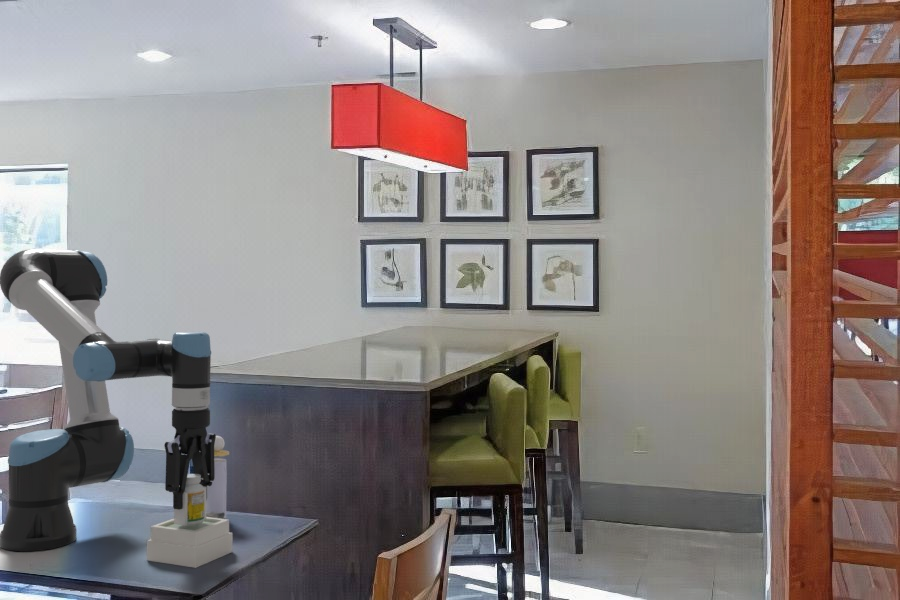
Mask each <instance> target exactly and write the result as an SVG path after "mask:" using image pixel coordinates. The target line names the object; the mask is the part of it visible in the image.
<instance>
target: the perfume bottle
mask: <svg viewBox="0 0 900 600" xmlns="http://www.w3.org/2000/svg"><path fill="white" fill-rule="evenodd" d="M225 445H226V444H225V440H224V438H223V437H222V436H220V435H216V439H215V444H214V470H215V478H214V481H210V482H212V485H211V486H207V500H206V513H210V512H215V513H225V515H224V519H226V518H227V467H228V466H227V463H228V462H227V459H226V458H218V457H226V456H229V455H230V451H229V450H226V449H224V447H225ZM215 457H217V458H215ZM208 475H209V474H208Z"/></svg>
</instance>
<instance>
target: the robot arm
mask: <svg viewBox="0 0 900 600" xmlns="http://www.w3.org/2000/svg"><path fill="white" fill-rule="evenodd" d="M107 286H108V275H107V271H106V268H105V265H104V264H103V262H102V261H101V259H100V258H99V257H98V256H96V255H95V254H94V253H92V252H89V251H83V250H82V251H80V250H77V249H72V250H71V249H70V250H67V249H65V250H61V249H39V248H29V249H24V250H20V251H19V252H18V251H17V252H16V253H15V254H13V255H11V257H9V258H8V259H7V260H6V261H5V262H4V264H3V265H2V267H1V270H0V290H1V292H2V293H3V296H4V298H6V299H7V300H8V302H9V303H10V304H11V305H12V306H13V307H15V308H16V309H19V310H22V311H26V312H27V313H28V314H29V316H31V317H32V318H33V319H34V320H36V322H38V324H39V325H41V327H43V328H44V329H45V330H46V331H47V332H48V333H49V334H50V335H51V336H52V337H53V338H54V339H55V340H57V341H58V346H59V347H58V348H59V353H60V354H59V355H60V360H61V367H62V372H63V380H64V381H63V382H64V386H65V392H66V393H65V394H66V400H67V406H68V413H69V421H68V422H67V424H66V425H65V426H64V428H49V429H45V430H43V429H42V430H35V431H31V432H27V433H24V434H21V435H18V436H17V437H15V438H14V439H13V440H12V441H11V442H10V444H9V449H8V459H7V463H8V510H7V514H6V516H5V520H4V524H3V528H2V530H1V531H0V548H1V549H3V550H7V551H14V552H34V551H36V552H37V551H45V550H51V549H52V550H53V549H57V548H61V547H64V546H67V545H70V544H72V543H73V542H76V540H77V534H78V533H77V532H78V531H77V526H76V524H74V523H75V522H74V519H73V516H72V512H71V509H70V506H69V489H70V488H76V487H81V486H87V485H93V484H98V483H107V482H109V481H111V480H116V479H119V478H122V477H123V476H125V474H126V473H127V472H128V471H129V470H130V467H131V465H132V463H133V460H134V455H135V444H134V439H133V436H132V434H131V433H130V431H129V430H128V429H127V428H124V427H122V426H120V422H119V421H120V420H119V417H117V416H116V415H115V414H112V412H111V411H110V410H111V408H110V403H109V399H108V398H109V397H108V390H107V384H106V381H112V380H122V379H134V378H135V379H136V378H147V377H148V378H149V377H169V378H170V377H171V379H172V380H171V381H172V383H171V386H172V387H171V407H173V409H172V410H171V426H172V427H173V428H174V429H175V434H174V436H173V440H172V441H165V443H164V446H163V447H164V450H165V454H166V455H165V487H164V489H165V491H166V492H169V493H172V495H173V496H172V501H173V503H172V507H173V511H174V513H173V515H174V516H173V519H174V524H177V525H184V526H185V525H187V514H188V493H187V492H184V491H185V486H186V481H187V475H188V474H189V470H190V469H189V468H190V465H191V464H190V463H191V462H192V468H193V472H194V473H193V474H199V475H201V482H200V483H199V484H201V485H202V486H203V487H204V519H205V518H206V500H207V486H211V485H212V482H210V481H214V478H215V470H214V459H215V457H214V444H215V439H216V436H217V435H216V433H208V431H207V427H209V426H210V425H211V409H210V408H208V406H210V405H211V361H212V359H211V358H212V356H211V355H212V351H211V338H210V337H211V336H210V335H209V333H207V332H205V331H204V332H203V331H179V332H178V331H177V332H175V333H173V334H172V340H168V339H160V338H148V339H147V338H145V339H142V340H132V341H131V340H127V341H115V340H114V339H113V338H112V337H110V336H109V335H108V334H107V333H106V332H104V331H103V330H102V328H101V327H99V326H98V325H97V320H96V314H95V313H96V310H97V309H98V308H99V307H100V305H101V300H100V299H103V297H104V296H105V294H106V292H107V288H106V287H107ZM208 474H209V475H208ZM179 486H180V487H179Z"/></svg>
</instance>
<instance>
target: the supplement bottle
mask: <svg viewBox="0 0 900 600" xmlns="http://www.w3.org/2000/svg"><path fill="white" fill-rule="evenodd" d="M200 482H201V475H199V474H195V473H188V475H187V481H186V486H185V491H184V492H187V493H188V514H187V525H196V524H200V523H202V522H203V521H204V487H203V486H202V485H201V484H199V483H200ZM179 487H180V486H179Z"/></svg>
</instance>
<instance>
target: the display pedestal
mask: <svg viewBox="0 0 900 600" xmlns="http://www.w3.org/2000/svg"><path fill="white" fill-rule="evenodd" d="M233 533H234V532H230V519H226V518H224V519H220V518H212V517H206V518H205V519H204V521H203V522H202V523H200V524H196V525H185V526H184V525H177V524H174V518H171V519H168V520H165V521H162V522H159V523H156V524H154V525H151V526H150V539H147V540H146V561H149V562H153V563H161V564H168V565H175V566H180V567H181V566H182V567H188V568H194V569H196V568H198V567H201V566H203V565H206V564H208V563H210V562H213V561H215V560H217V559H219V558H220V559H221V557H224V556H227V555H229V554H230V553H231V554H232V553H233V540H234V539H233Z"/></svg>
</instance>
